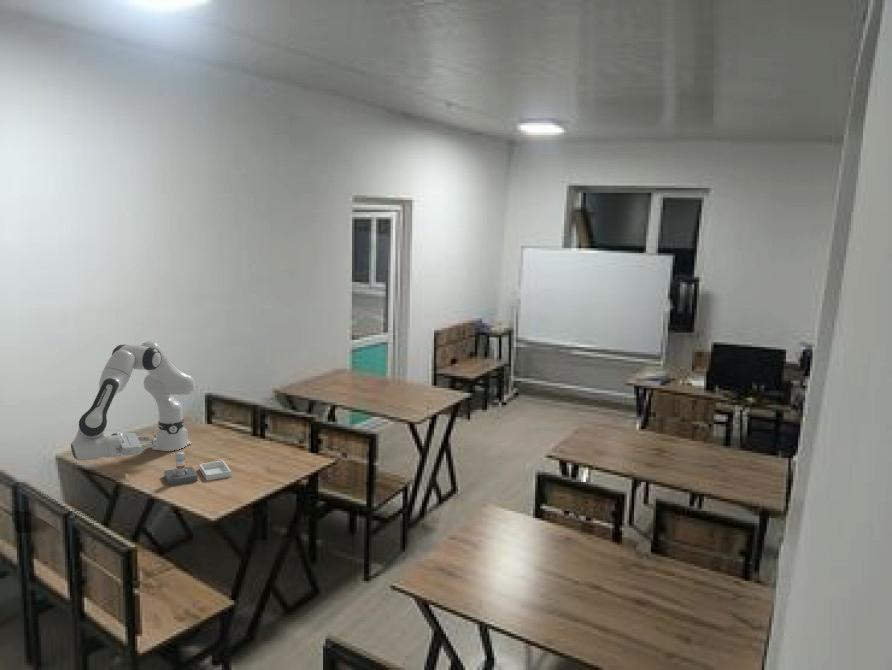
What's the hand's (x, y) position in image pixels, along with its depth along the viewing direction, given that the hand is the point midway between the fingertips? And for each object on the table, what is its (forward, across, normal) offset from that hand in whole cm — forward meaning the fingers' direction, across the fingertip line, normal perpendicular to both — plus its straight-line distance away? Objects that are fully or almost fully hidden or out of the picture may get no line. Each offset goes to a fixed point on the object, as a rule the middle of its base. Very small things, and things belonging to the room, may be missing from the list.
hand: (150, 441), depth 285 cm
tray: (+27, 0, +20) cm, 34 cm away
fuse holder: (+12, 0, +20) cm, 24 cm away
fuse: (+12, 0, +19) cm, 23 cm away
